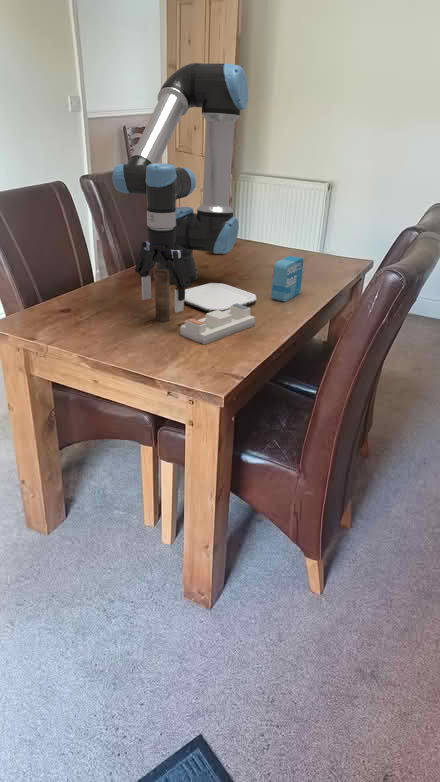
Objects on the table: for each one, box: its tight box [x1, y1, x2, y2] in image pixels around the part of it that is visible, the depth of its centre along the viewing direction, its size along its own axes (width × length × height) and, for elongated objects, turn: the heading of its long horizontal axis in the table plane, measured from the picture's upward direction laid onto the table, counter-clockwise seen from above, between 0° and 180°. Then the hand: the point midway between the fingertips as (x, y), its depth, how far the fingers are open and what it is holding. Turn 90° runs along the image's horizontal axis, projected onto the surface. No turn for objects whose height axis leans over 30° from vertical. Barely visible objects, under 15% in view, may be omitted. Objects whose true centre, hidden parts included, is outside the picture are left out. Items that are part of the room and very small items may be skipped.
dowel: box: [154, 269, 171, 323], centre depth 157 cm, size 4×4×14 cm
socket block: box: [179, 303, 256, 346], centre depth 154 cm, size 9×20×5 cm, turn 137°
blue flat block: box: [271, 255, 304, 303], centre depth 179 cm, size 12×4×12 cm, turn 147°
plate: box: [184, 282, 257, 313], centre depth 176 cm, size 21×21×2 cm
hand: (162, 304), depth 158 cm, fingers open, 13 cm apart
